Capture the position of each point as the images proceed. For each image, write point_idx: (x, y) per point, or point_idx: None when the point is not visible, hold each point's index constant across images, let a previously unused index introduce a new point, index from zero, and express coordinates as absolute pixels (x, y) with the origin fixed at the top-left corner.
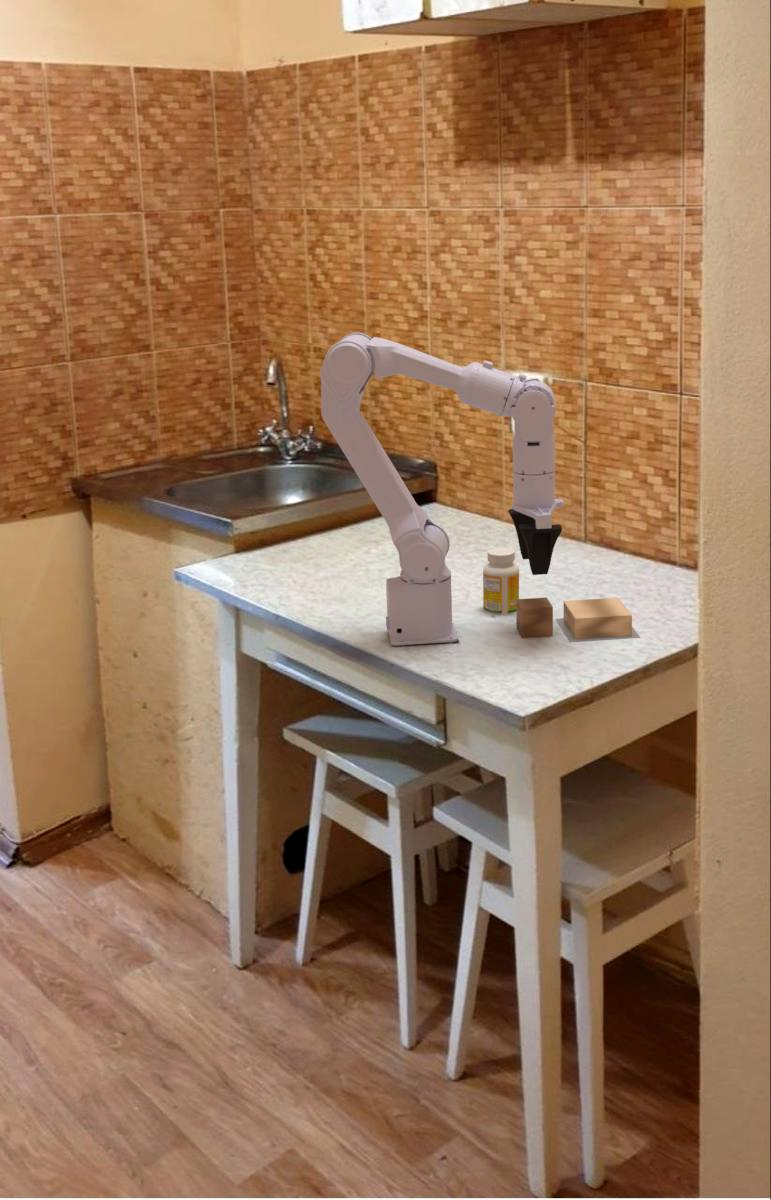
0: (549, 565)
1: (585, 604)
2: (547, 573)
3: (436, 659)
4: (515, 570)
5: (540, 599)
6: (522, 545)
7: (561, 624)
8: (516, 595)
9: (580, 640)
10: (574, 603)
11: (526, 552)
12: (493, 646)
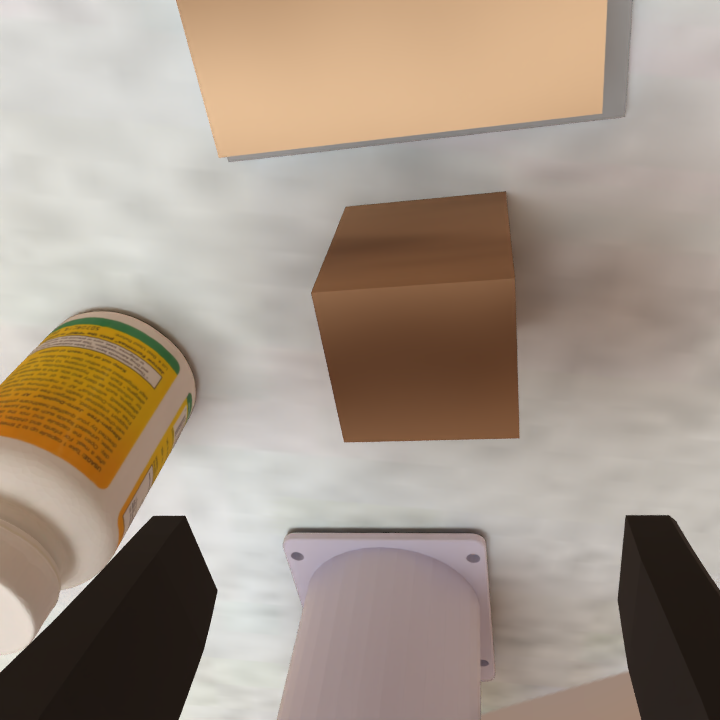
0: (708, 574)
1: (288, 4)
2: (671, 517)
3: None
4: (39, 472)
5: (352, 331)
6: (173, 700)
7: None
8: (108, 375)
9: (618, 46)
10: (265, 87)
11: (194, 624)
12: (543, 433)
